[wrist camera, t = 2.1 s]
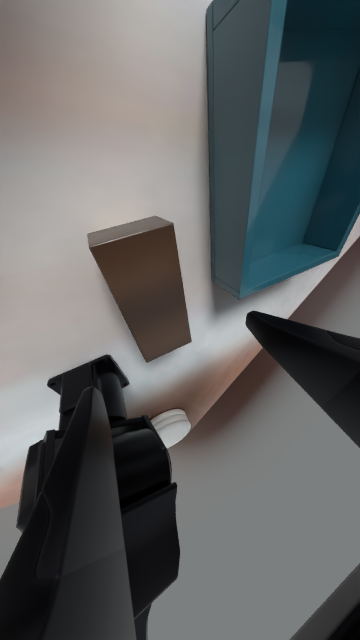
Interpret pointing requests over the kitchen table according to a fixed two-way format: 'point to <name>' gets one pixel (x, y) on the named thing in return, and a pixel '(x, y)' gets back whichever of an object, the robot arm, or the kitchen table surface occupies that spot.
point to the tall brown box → (145, 282)
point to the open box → (281, 136)
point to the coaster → (171, 426)
